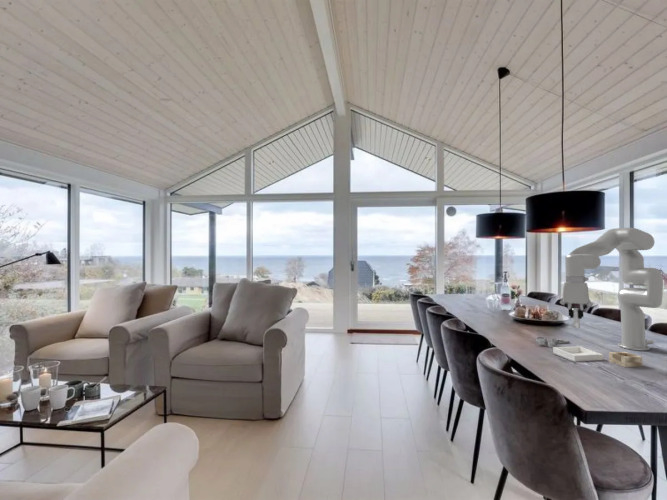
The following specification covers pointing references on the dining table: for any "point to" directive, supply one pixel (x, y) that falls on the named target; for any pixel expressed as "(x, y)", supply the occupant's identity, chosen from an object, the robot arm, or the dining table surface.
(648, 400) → the dining table surface
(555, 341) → the pulley system
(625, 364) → the tan hollow square block
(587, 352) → the tray
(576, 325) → the pin
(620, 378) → the dining table surface
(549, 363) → the dining table surface
